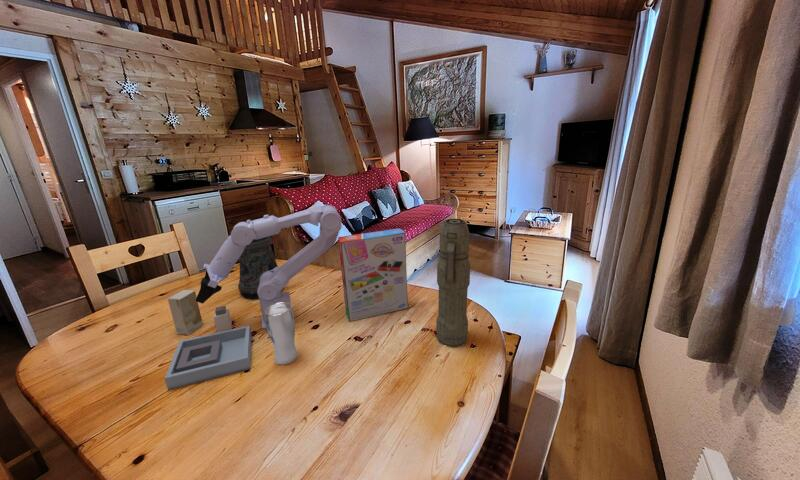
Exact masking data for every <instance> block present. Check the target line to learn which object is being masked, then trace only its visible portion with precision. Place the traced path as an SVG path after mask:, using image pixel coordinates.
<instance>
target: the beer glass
mask: <svg viewBox="0 0 800 480" xmlns="http://www.w3.org/2000/svg"><path fill="white" fill-rule="evenodd" d="M291 306H292V303H291V304H289V303H286V302H280V303H275V304H272V305H270V306H268V307H267V308H266V309H265V321H266V327H267V328H266V330H267V334H268V337H269V339H270V342H271V344H272V346H273V350H274V351H273V352H274V354H273V360H274V363H276V364H277V365H281V366H282V365H288V364H291V363H292V362H295V360H297V358H298V357H299V354H298V353H299V352H298V351H297V346H296V344H295V337H296V336H295V333H296V324H295V323H296V322H295V317H294V313H293V312H294V310H293V311H292V307H293V306H292V307H291Z"/></svg>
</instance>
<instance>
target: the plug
mask: <svg viewBox="0 0 800 480" xmlns="http://www.w3.org/2000/svg"><path fill="white" fill-rule="evenodd" d="M226 307H227V306H226V305H222V306H217V307H215V310H214V315H213V320H214V321H213V322H214V324H215V325H214V326H215V329H216V333H217V332H222V331H226V330H231V329H232V325H233V322H232V317H231V314H230V309H229V308H226Z"/></svg>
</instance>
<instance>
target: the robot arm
mask: <svg viewBox="0 0 800 480" xmlns="http://www.w3.org/2000/svg"><path fill="white" fill-rule="evenodd" d="M303 224H311V225H314V226H316V227H319V235H318V236H317V237H316V238H314V239H313V240H312V241H311V242H309V243H308V244H307V245H305V246H304V247H303V248H302V249H300V250H299V251H297V253H295V254H294V255H292V256H291V257H290V258H289V259H288V260H286V261H285V262H284V263H283V264H281V265H279V266H278V267H275V268H274V269H273V270H271V271H267V272H265V273H263V274H262V275H261V277H260V283H259V287H258V290H257V294H258V296H259V299H258V301H259V305H260V311H261V329H267V327H266V321H265V309H266V308H267V307H268V306H270V305H272V304H275V303H280V302H286V303H289V304H291V307H292V311H293V314H294V312H295V311H294V307H293V306H292V301H291V299H292V298H291V294H290V291H283V290H284V289H285V288H286V286H288V285H287V284H288V283H289V281H290V280H291V279H292V278H294V277H295V276H296V275H297V274H298V275H299V273H300V272H301V271H303V270H304V269H305V268H306V267H308V266H310V264H311V263H313V262H314V261H315V260H316V259H318V258H319V257H321V256H322V255H323V254H324V253H325V252H326V251H328V250H329V249H330V248H332V247H333V246H335V243H336V241H337V239H338V237H339V233H340V231H341V229H342V216H341V215H340V213H339V212H338V209H337V208H336V207H335V206H333V205H332V204H324V205H322V206H321V205H317V206H313V207H311V208H307V209H304V210H301V211H297V212H294V213H290V214H287V215H284V216H281V217H278V216H275V215H269V214H264V215H263V217H261V218H257V219H253V220H251V219H247V220H246V221H239V222H238V223H236V224H234V226H233V229H232V230H231V232H230V235H229V236H228V237H227V238H226V239H225V241H224V242H223V243H222V245H221V246H220V248H219V250H218V251H217V253H216V254H215V255H214V257H213V259H212V260H211V262H210V263H209V264H208V263H204V264H203V269H205V274H204V275H205V276H204V277H201V280H200V288H199V291H198V294H196V297H197V298H196V301H197V302H198V304H202V305H203V304H205V302H206V301H208V300H209V299H210V298H211V297H212V296H213V295H214V294H216V293H218V292H221V290H222V288H223V287H222V286H221V285H219V284H220V282H222V281H224V280H225V279H227V278H228V276H229V274H230V273H231V272H232V270H233V268H234V266H235V265H236V264H237V262H238V259H239V257H240V256H241V254H242V253H243V251H244V248H245V247H246V245H249V244H250V243H251V242H252V240H253V239H256V240H257V239H261V238H265V237H268V236H270V237H272V236H275V235H278V234H279V233H280V232H281V230H282V229H285V228H290V227H294V226H295V227H296V226H301V225H303ZM282 289H283V290H282Z"/></svg>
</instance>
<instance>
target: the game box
mask: <svg viewBox="0 0 800 480" xmlns="http://www.w3.org/2000/svg"><path fill="white" fill-rule="evenodd" d="M337 239H338V241H337V242H338V250H339V261H340V268H341V278H342V279H341V280H342V287H343V289H342V290H343V297H344V307H345V315H346V317H347V321H348V323H349V322H355V321H357V320H358V321H359V320H362V319H365V318H366V319H367V318H372V317H376V316H380V315H383V314H389V313H393V312H397V311H402V310H406V309H409V298H408V297H409V296H408V295H409V294H408V275H407V251H406V250H407V245H406V241H407V240H406V232H405V231H404V230H403V229H401V228H393V229H386V230H380V231H373V232H372V231H371V232H365V233H357V234H352V235H351V234H350V235H344V236H337Z"/></svg>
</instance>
